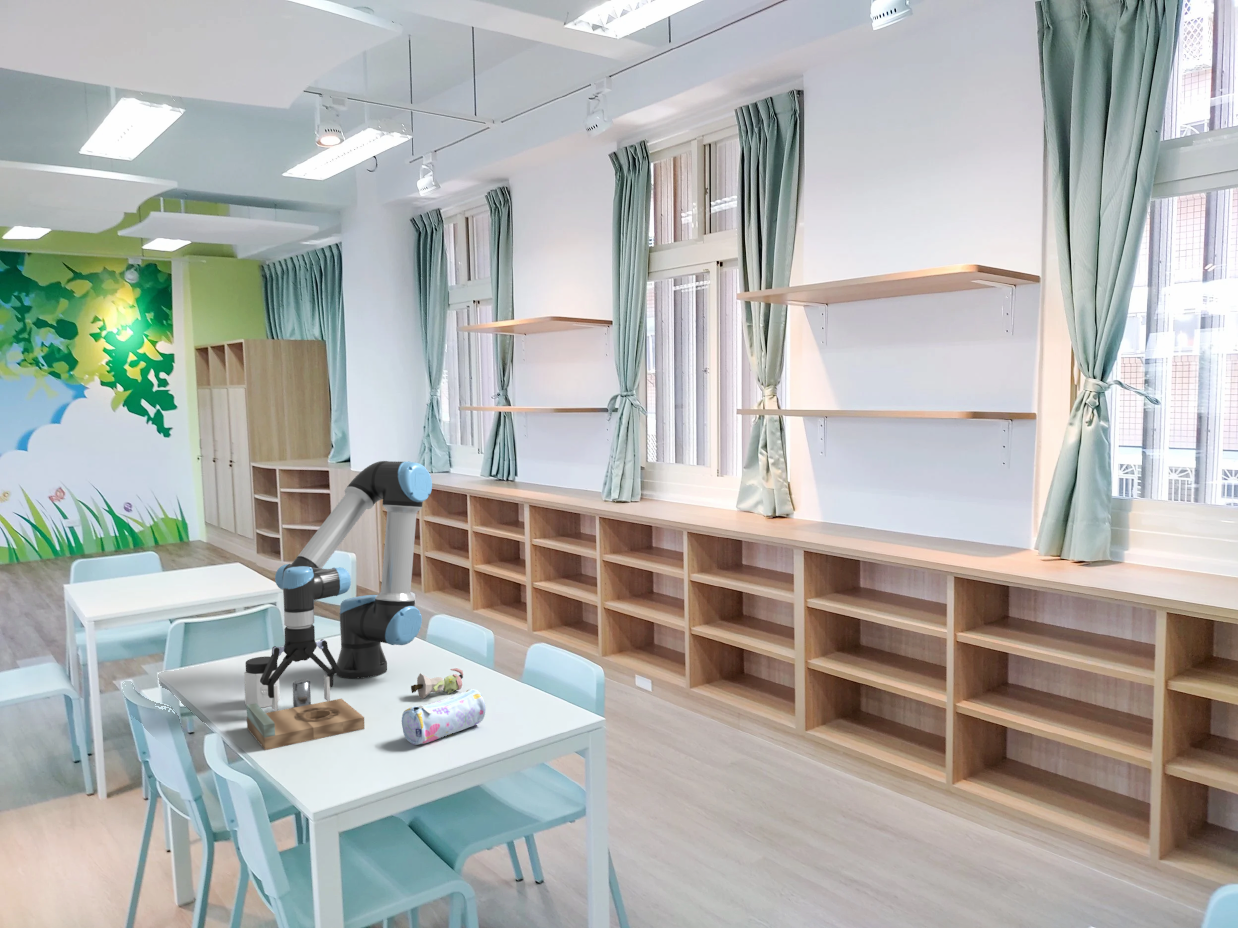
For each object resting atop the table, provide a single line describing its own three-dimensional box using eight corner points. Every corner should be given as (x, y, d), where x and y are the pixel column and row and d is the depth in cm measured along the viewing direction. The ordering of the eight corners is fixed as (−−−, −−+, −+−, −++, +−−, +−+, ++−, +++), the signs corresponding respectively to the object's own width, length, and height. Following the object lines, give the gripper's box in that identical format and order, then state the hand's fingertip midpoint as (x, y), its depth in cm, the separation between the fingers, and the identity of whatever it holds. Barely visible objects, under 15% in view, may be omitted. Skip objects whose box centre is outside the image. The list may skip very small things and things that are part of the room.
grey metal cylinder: (308, 707, 246) (307, 678, 246) (313, 711, 243) (312, 682, 242) (291, 710, 244) (290, 681, 243) (296, 714, 240) (295, 685, 240)
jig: (341, 709, 244) (341, 687, 244) (364, 728, 229) (363, 705, 229) (247, 728, 231) (246, 704, 230) (265, 749, 216) (264, 725, 215)
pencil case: (418, 750, 215) (417, 711, 214) (397, 741, 221) (396, 703, 220) (488, 727, 230) (488, 690, 229) (467, 719, 236) (467, 683, 235)
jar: (248, 710, 244) (247, 666, 243) (242, 702, 251) (240, 659, 250) (283, 704, 249) (282, 661, 248) (276, 696, 256) (274, 654, 255)
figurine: (419, 698, 247) (471, 691, 255) (416, 671, 249) (468, 665, 257) (409, 702, 254) (459, 695, 262) (406, 675, 256) (456, 669, 264)
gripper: (341, 616, 252) (343, 692, 253) (246, 629, 238) (248, 709, 239) (350, 621, 246) (352, 699, 247) (253, 635, 231) (255, 717, 233)
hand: (301, 704), depth 243 cm, fingers open, 13 cm apart
